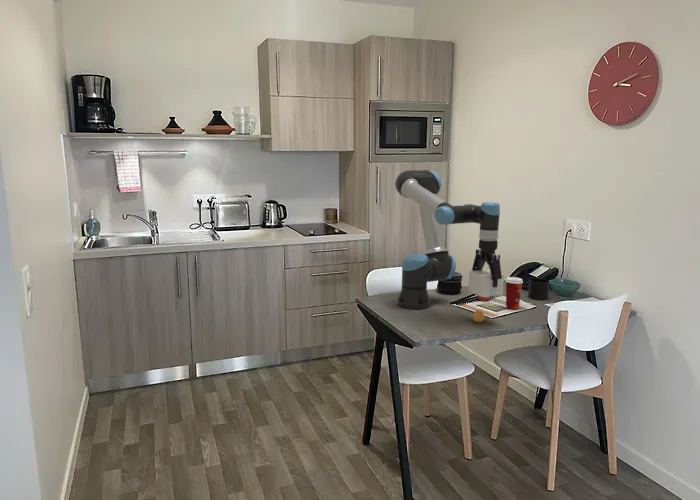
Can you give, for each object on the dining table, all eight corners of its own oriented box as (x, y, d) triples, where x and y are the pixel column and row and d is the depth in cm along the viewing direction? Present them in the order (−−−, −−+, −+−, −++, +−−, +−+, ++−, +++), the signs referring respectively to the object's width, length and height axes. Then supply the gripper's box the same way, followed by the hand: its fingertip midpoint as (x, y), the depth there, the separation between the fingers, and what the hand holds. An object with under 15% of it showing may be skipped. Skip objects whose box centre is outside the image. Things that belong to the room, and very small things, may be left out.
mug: (554, 297, 263) (556, 280, 262) (540, 301, 257) (542, 283, 255) (538, 293, 271) (539, 276, 269) (524, 297, 264) (525, 279, 262)
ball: (487, 314, 224) (482, 324, 225) (477, 309, 227) (472, 319, 227) (484, 313, 220) (479, 323, 220) (474, 307, 223) (469, 318, 223)
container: (457, 288, 278) (458, 270, 276) (464, 295, 266) (465, 276, 264) (434, 288, 277) (434, 270, 276) (440, 295, 265) (440, 276, 263)
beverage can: (484, 302, 254) (486, 278, 252) (474, 299, 259) (475, 275, 257) (492, 300, 257) (494, 276, 255) (482, 297, 263) (483, 273, 260)
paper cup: (521, 310, 241) (524, 281, 238) (504, 309, 242) (506, 280, 240) (519, 306, 248) (522, 277, 246) (503, 304, 250) (505, 276, 247)
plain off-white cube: (482, 297, 217) (483, 276, 215) (468, 290, 226) (469, 270, 224) (502, 294, 220) (504, 274, 218) (488, 289, 229) (489, 269, 228)
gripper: (513, 243, 210) (509, 297, 214) (480, 235, 231) (477, 284, 235) (497, 244, 207) (494, 298, 211) (465, 235, 228) (462, 285, 232)
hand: (485, 291), depth 223 cm, fingers closed on plain off-white cube, 10 cm apart
